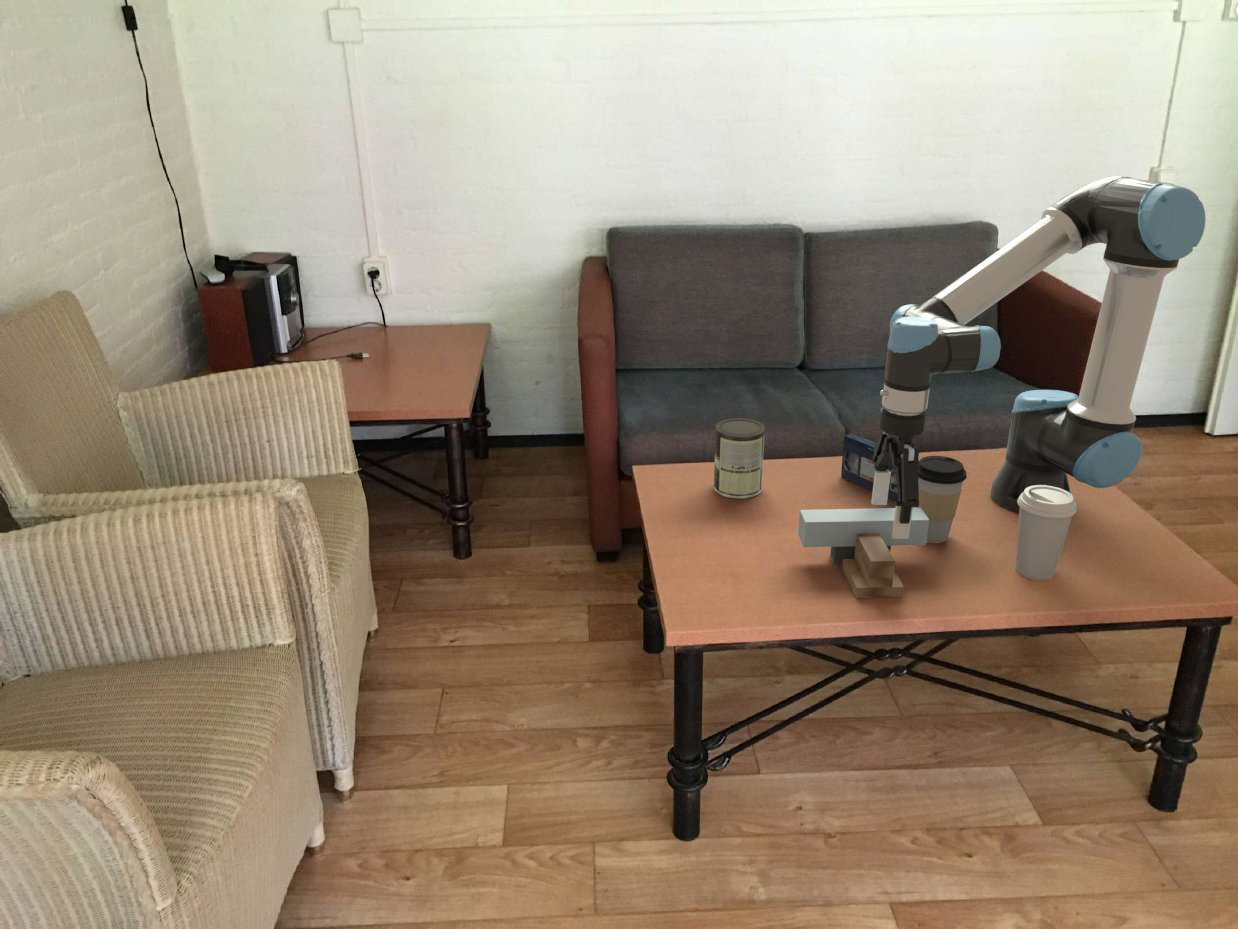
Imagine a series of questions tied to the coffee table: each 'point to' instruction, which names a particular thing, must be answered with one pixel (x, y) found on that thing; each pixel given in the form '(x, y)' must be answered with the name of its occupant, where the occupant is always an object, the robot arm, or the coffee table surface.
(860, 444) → the vhs cassette tape
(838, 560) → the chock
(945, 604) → the coffee table surface
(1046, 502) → the coffee cup
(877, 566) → the fulcrum
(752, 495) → the coffee can
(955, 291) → the robot arm
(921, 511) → the beam
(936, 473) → the coffee cup
